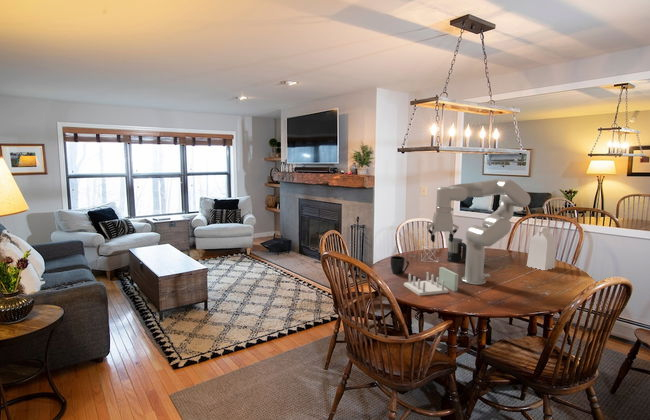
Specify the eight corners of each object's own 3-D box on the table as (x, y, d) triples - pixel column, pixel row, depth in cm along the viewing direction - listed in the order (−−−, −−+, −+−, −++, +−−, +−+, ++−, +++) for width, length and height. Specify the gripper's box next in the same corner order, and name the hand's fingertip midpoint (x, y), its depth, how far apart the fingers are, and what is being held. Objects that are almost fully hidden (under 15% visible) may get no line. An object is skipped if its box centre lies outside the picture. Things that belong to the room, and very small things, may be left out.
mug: (403, 277, 218) (403, 261, 217) (387, 272, 227) (387, 257, 226) (412, 275, 223) (412, 259, 222) (396, 270, 233) (396, 255, 231)
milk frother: (444, 260, 256) (445, 239, 254) (454, 256, 268) (455, 235, 266) (465, 264, 247) (466, 242, 244) (474, 260, 258) (475, 238, 256)
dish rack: (431, 282, 210) (431, 271, 209) (448, 292, 195) (449, 280, 194) (403, 285, 205) (404, 273, 204) (419, 295, 190) (419, 283, 189)
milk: (536, 263, 251) (540, 224, 248) (554, 267, 242) (558, 227, 238) (526, 266, 245) (529, 226, 241) (544, 270, 235) (548, 229, 232)
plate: (438, 282, 210) (439, 267, 209) (441, 282, 211) (442, 266, 210) (454, 291, 197) (455, 274, 196) (457, 291, 198) (458, 274, 196)
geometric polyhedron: (421, 257, 263) (421, 244, 262) (437, 258, 261) (438, 245, 259) (421, 262, 251) (421, 249, 250) (438, 263, 249) (439, 250, 247)
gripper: (456, 209, 207) (454, 240, 209) (425, 209, 206) (423, 240, 208) (462, 211, 199) (460, 243, 202) (429, 211, 198) (428, 243, 201)
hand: (441, 241), depth 205 cm, fingers open, 9 cm apart
